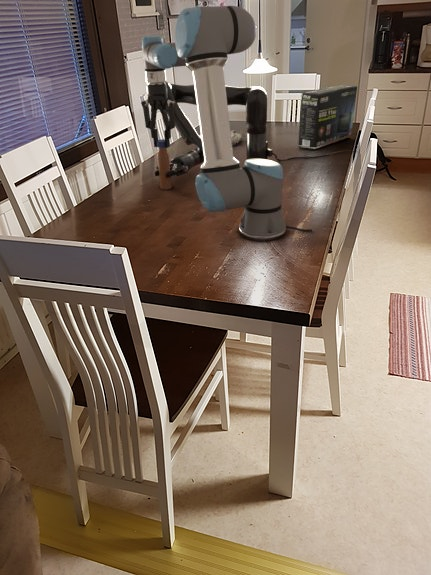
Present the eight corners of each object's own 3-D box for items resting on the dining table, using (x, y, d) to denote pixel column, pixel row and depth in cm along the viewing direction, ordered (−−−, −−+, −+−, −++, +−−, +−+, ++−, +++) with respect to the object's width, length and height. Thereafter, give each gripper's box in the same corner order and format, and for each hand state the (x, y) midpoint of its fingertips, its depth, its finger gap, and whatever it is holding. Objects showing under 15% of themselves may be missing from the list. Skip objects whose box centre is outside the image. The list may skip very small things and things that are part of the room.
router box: (314, 151, 231) (318, 94, 217) (296, 148, 237) (299, 92, 224) (352, 138, 251) (358, 85, 238) (335, 135, 258) (340, 83, 245)
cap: (169, 146, 182) (168, 141, 181) (158, 148, 181) (158, 142, 179) (165, 144, 185) (165, 138, 184) (155, 146, 184) (154, 140, 183)
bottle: (159, 189, 190) (155, 143, 180) (161, 185, 194) (156, 140, 184) (171, 189, 190) (167, 143, 180) (172, 185, 194) (168, 140, 184)
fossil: (235, 140, 241) (216, 121, 244) (224, 157, 247) (206, 139, 251) (251, 138, 254) (233, 121, 258) (241, 154, 261) (223, 138, 264)
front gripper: (130, 84, 171) (138, 147, 183) (173, 84, 165) (178, 150, 177) (140, 81, 177) (147, 143, 189) (181, 81, 171) (185, 145, 183)
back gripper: (167, 153, 200) (145, 163, 187) (196, 156, 194) (175, 167, 182) (169, 170, 204) (147, 181, 191) (197, 173, 198) (176, 185, 185)
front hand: (162, 146), depth 183 cm, fingers closed on cap, 4 cm apart
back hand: (161, 174), depth 186 cm, fingers closed on bottle, 4 cm apart
